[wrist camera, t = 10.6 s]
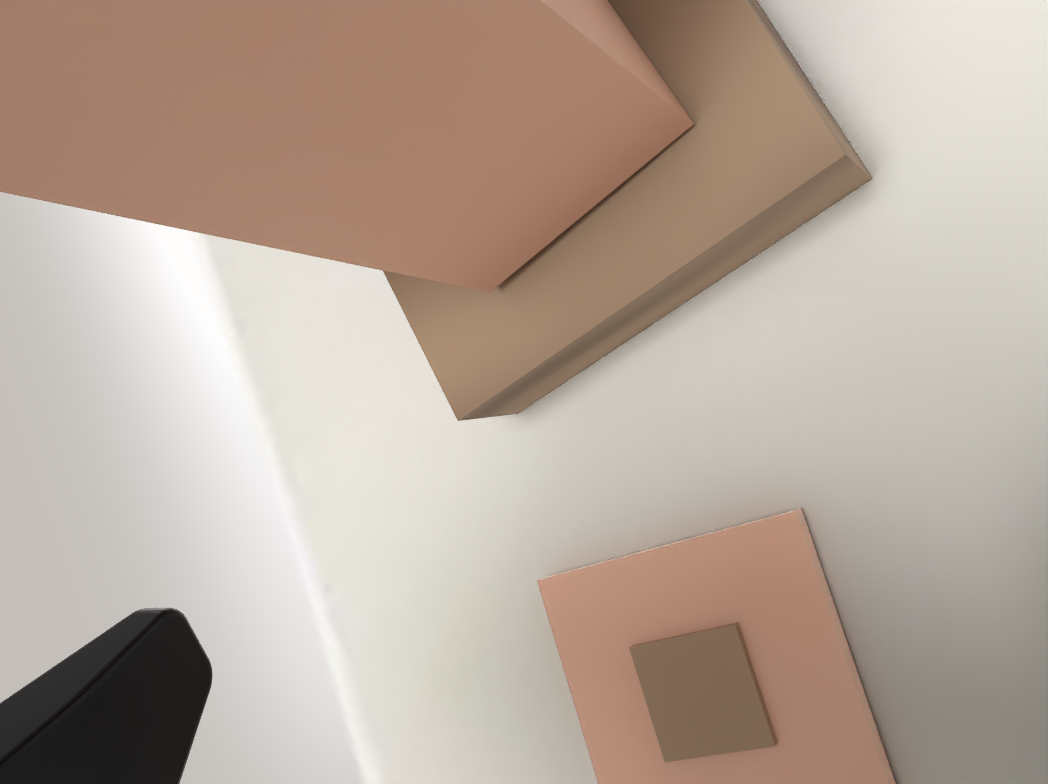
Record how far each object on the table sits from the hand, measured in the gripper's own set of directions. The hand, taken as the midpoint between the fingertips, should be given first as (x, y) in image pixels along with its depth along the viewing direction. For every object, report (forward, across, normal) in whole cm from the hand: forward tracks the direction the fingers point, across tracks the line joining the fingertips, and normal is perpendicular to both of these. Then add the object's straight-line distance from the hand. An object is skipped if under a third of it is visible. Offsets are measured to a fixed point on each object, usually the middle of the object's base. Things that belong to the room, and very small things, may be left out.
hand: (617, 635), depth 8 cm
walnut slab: (+15, +3, 0) cm, 15 cm away
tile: (+8, +1, +9) cm, 12 cm away
